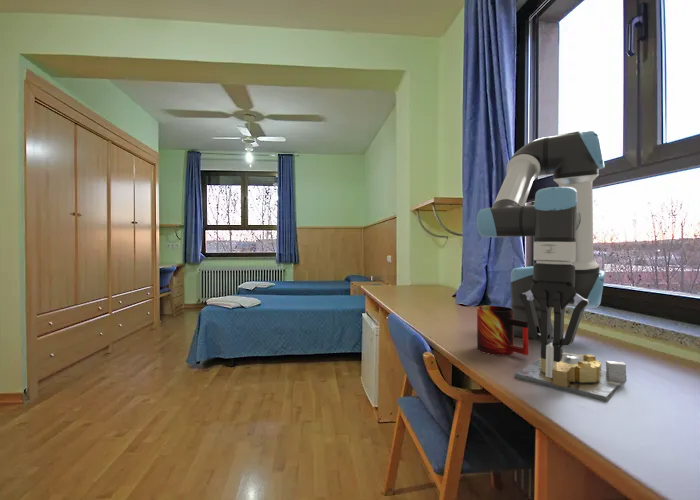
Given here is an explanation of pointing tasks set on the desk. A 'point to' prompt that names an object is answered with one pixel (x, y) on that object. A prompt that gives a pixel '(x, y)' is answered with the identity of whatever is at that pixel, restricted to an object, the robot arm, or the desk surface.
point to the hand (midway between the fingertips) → (551, 375)
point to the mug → (499, 331)
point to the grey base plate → (595, 390)
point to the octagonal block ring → (575, 371)
